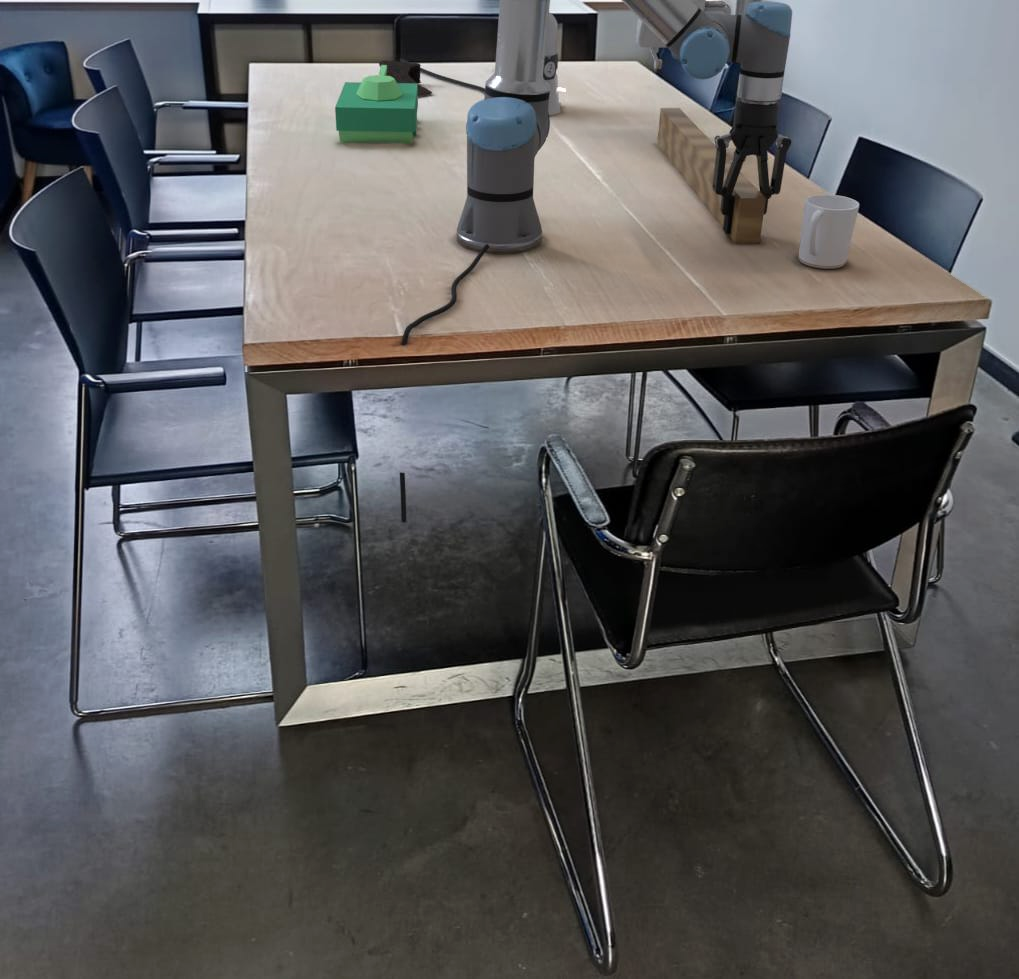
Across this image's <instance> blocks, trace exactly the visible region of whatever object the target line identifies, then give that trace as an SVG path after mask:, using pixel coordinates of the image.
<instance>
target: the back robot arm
mask: <svg viewBox="0 0 1019 979" xmlns="http://www.w3.org/2000/svg"><path fill="white" fill-rule="evenodd" d="M693 1H694V3H695V4H696V5H697V6H698V7H699V8H700V9H701V10H702V11H703V12H704V13H712V14H728V15H732V7H731V5H729V4H728V3H726V2H725V1H710V0H709V1H708V0H693ZM637 18H638V17H637ZM558 26H559V25H558V21H557V19H556V17H555V16H554V15H553V13H551V12H550V11H549V17H548V28H547V38H546V49H545V59H544V70H543V78H544V80H545V81H546V83H547V84H548V85H549V86H550V95H549V106H548V112H549V115H550V116H554V115H558V114H560V113H561V112H562V111H561V107H562V104H561V102H560V95H559V92H565V93H566V92H567V90H566V88H564V87H559V77H558V74H557V70H558V68H559V54H558V53H557V51H558V50H557V47H558V46H557V45H558ZM634 41H635V44H636V45H637V46H638V47H640V48H650V50H649V52H650V53H651V56H652V58H653V69H654V70H662V69H663V60H662V59H659V57H658V55H657V54H658V53H659V50H660V49H659V48H668V47H667V46H666V45H665V44H664V43H663V42H662V41H661V40H660V39H659V38H658V37H657V36H656V35H655V34H654V33H653V32H652V31H651V30H650V29H649V28H648V27H647V26H646V25H645V24H644V23H643V22H642V21H641V20H640V19H639V18H638V19H637V23H636V29H635V36H634ZM399 62H409V61H408V60H405V59H404V58H402V57H401V58H399ZM420 73H424V74H426V75H428V76H431V77H434V78H437V79H440V80H443V81H446V82H449V83H452V84H455V85H460V86H463V87H466V88H469V89H474V90H477V91H481V92H484V93H485V87H483V86H479V85H475V84H472V83H469V82H464V81H461V80H458V79H454V78H451V77H447V76H445V75H441V74H438V73H435V72H432V71H430V70H427V69H426V68H424V67H423V68H422V67H420ZM480 101H484V98H483V99H481V100H480Z"/></svg>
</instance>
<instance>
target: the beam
mask: <svg viewBox="0 0 1019 979" xmlns="http://www.w3.org/2000/svg"><path fill="white" fill-rule="evenodd" d="M658 120H659V121H658V133H657V143H656V144H657V146H658V147H659V148H660V150H661V152H663V154H664V155H665V156H666V158H667V159H668V160H669V161H670V162H671V164H672V165H673V166H674V167H675V169H676V170H677V172H678V173H679V174H680V176H681V177H682V178H683V179H684V180H685V181H686V183H687V184H688V186H689V187H690V188H691V190H692V191H693V192H694V193H695V194H696V195H697V197H698V198H699V199H700V201H701V202H702V203H703V205H704V206H705V207H706V208H707V209H708V211H709V212H710V214H711V215H712V216H713V217H714V218H715V220H716V221H717V223H719V225H720V226H721V227H722V228H723V224H724V216H725V215H722V213H721V211H720V207H721V199H722V196H721V195H717V194H716V193H715V192H714V190H713V188H712V187H713V178H714V169H715V159H716V150H717V149H716V145H715V142H713V141H712V140H711V139H710V138H709V137H708V136H707V135H706V134H705V133H704V131H702V129H700V128H699V126H698V125H697V124H695V122H694V121H693V120H692V119H691V118H690V117H689V116H688V115H687V114H686V113H685V112H684V111H683V109H682V108H680V107H660V109H659V119H658ZM731 163H732V161H731V160H730V159H729V158H728V157H727V156H726V163H725V172H724V181H723V186H724V183H725V180H726V177H727V174H728V172H729V169H730V166H731ZM732 196H733V197H734V198H735V203H734V211H733V219H732V226H731V234H727V235H728V236H729V238H730V239H731V240H732V241H733V243H734V244H760V243H761V236H762V229H763V223H764V216H765V215H764V209H765V202H766V197H765V196H764V195H763V194H762V193H761V192H760V189H758V188H757V187H756V186H755V185H754V183H752V182H751V181H750V179H749V178H748V177H746V176H745V175H744V173H743V172H742V171H741V170H740V173H739V176H738V179H737V182H736V184H735V187H734V190H733V193H732Z"/></svg>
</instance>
